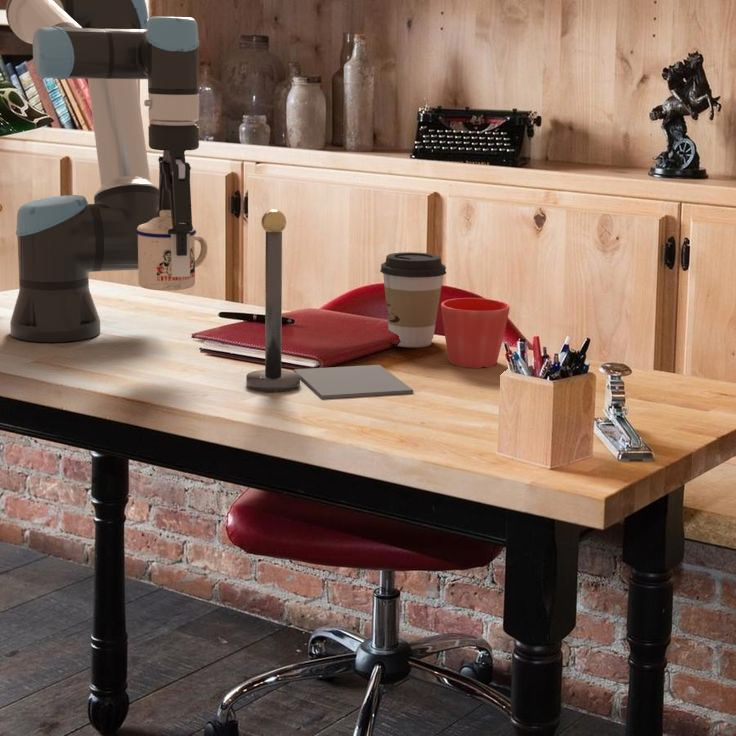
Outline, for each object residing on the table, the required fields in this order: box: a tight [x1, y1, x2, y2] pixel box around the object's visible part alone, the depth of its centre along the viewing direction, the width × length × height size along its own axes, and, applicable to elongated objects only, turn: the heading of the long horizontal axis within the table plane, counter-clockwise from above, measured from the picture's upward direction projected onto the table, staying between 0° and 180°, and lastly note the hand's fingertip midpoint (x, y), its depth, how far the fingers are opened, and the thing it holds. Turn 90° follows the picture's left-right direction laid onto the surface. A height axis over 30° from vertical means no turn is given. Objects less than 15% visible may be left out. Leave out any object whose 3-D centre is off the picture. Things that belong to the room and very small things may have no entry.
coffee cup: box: [379, 251, 447, 348], centre depth 228 cm, size 11×11×15 cm
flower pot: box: [440, 297, 511, 369], centre depth 215 cm, size 11×11×10 cm
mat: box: [293, 364, 414, 400], centre depth 202 cm, size 16×14×1 cm
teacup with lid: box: [136, 210, 208, 292], centre depth 206 cm, size 12×9×12 cm
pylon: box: [245, 209, 301, 394], centre depth 196 cm, size 8×8×26 cm
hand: (175, 270), depth 206 cm, fingers closed on teacup with lid, 9 cm apart
